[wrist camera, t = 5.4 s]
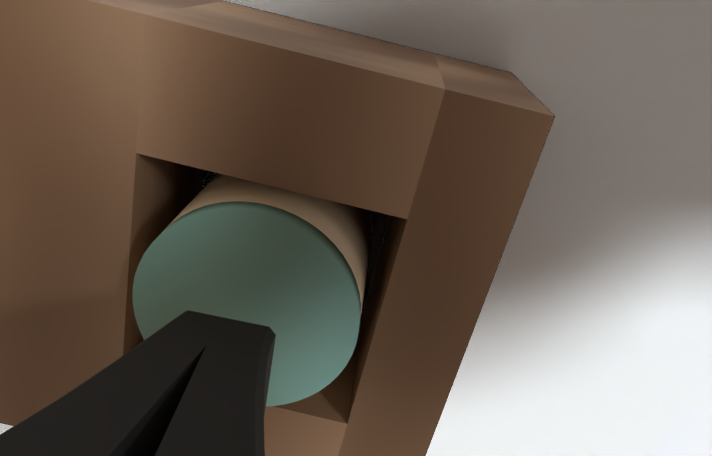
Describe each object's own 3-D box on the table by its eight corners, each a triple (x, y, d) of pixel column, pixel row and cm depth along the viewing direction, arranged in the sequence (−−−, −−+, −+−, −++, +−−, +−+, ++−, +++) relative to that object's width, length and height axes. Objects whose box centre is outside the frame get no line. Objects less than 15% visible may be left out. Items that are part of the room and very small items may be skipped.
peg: (391, 166, 13) (384, 243, 9) (352, 312, 14) (332, 427, 11) (216, 123, 13) (140, 184, 9) (197, 275, 14) (126, 378, 11)
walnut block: (511, 72, 12) (554, 116, 9) (403, 392, 16) (401, 517, 12) (-229, -113, 12) (-508, -149, 8) (-162, 258, 16) (-334, 344, 12)
